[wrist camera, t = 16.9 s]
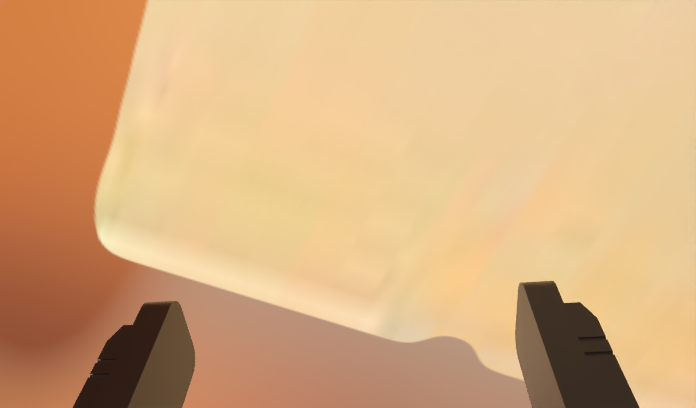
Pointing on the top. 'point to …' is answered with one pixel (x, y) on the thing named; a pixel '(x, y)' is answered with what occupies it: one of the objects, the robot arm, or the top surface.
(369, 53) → the top surface
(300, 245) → the top surface
